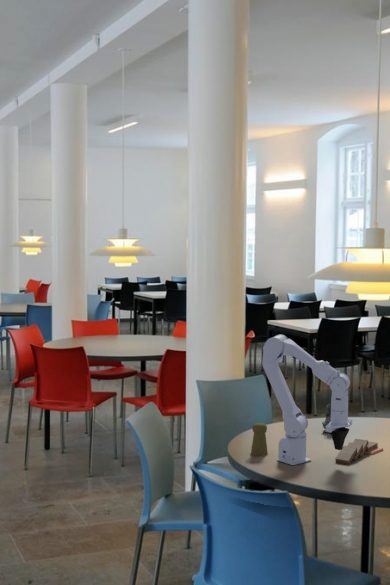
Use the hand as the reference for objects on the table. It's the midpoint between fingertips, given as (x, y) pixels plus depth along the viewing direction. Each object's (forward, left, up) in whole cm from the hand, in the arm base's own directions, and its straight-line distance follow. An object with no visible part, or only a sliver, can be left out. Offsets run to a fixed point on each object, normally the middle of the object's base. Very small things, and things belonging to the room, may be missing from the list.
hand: (338, 449), depth 280 cm
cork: (-11, +27, -6) cm, 30 cm away
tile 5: (+19, +4, -6) cm, 21 cm away
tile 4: (+19, +5, -4) cm, 20 cm away
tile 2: (+8, +2, -5) cm, 9 cm away
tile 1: (+3, +1, -5) cm, 6 cm away
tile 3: (+13, +3, -5) cm, 14 cm away
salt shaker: (+33, +33, -6) cm, 47 cm away
